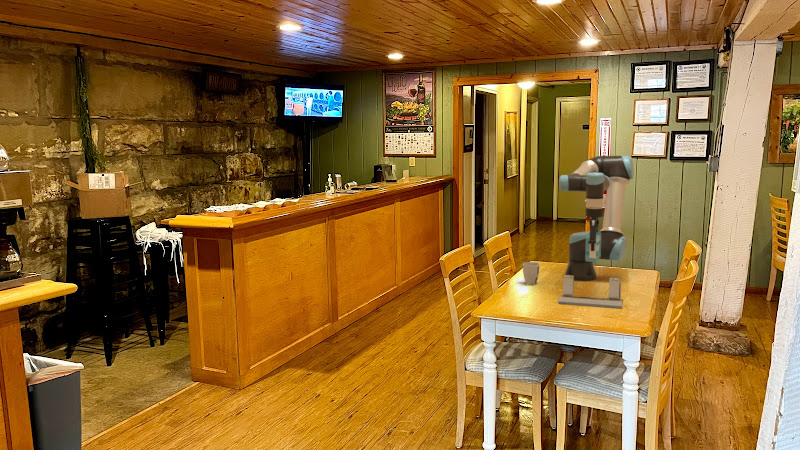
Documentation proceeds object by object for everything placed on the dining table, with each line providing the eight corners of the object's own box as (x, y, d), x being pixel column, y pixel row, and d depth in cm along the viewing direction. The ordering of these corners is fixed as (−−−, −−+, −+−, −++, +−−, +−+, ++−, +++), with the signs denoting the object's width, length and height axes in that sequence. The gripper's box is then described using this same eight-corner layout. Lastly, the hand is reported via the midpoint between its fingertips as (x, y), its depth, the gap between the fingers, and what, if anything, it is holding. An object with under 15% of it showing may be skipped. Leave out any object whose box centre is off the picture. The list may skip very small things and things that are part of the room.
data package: (595, 263, 266) (596, 236, 264) (585, 262, 268) (585, 235, 266) (600, 257, 276) (601, 231, 274) (590, 256, 278) (591, 230, 276)
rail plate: (561, 297, 272) (561, 273, 270) (622, 302, 262) (623, 276, 261) (558, 303, 263) (558, 278, 261) (622, 308, 253) (622, 282, 251)
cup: (539, 285, 293) (540, 265, 292) (522, 285, 294) (522, 265, 293) (538, 281, 301) (538, 262, 300) (522, 281, 302) (522, 262, 301)
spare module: (610, 297, 270) (611, 279, 268) (620, 298, 268) (621, 280, 267) (610, 300, 265) (611, 282, 264) (620, 301, 264) (620, 282, 262)
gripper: (587, 203, 281) (586, 248, 284) (583, 211, 258) (582, 260, 261) (604, 204, 278) (603, 249, 281) (601, 211, 255) (600, 261, 259)
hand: (593, 254), depth 271 cm, fingers closed on data package, 12 cm apart
